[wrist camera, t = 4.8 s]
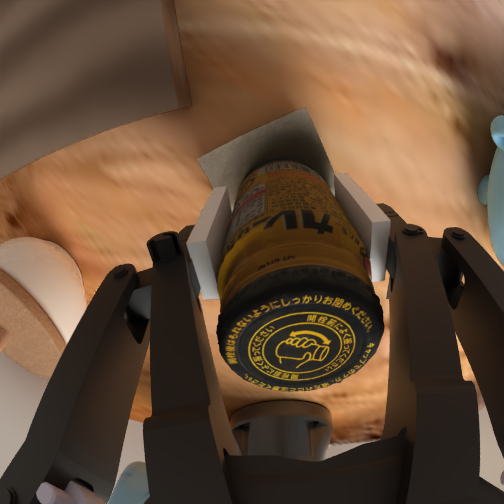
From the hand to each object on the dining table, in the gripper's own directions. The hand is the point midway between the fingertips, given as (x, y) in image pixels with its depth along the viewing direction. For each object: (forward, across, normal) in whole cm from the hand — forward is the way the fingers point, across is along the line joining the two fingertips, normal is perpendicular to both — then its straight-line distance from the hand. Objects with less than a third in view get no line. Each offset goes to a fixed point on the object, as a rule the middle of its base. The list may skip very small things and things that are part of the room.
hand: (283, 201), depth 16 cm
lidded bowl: (+4, +23, +5) cm, 24 cm away
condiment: (+2, 0, 0) cm, 2 cm away
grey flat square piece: (+3, +14, -15) cm, 21 cm away
